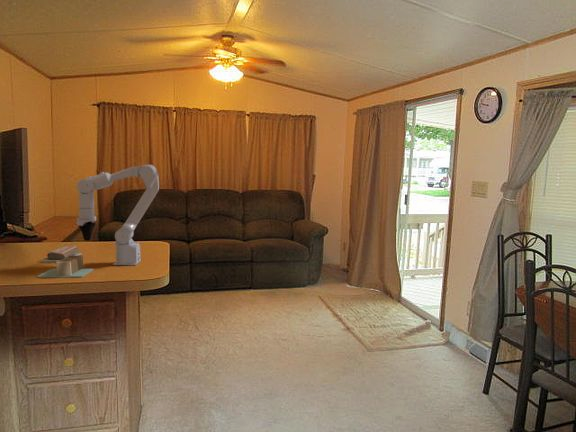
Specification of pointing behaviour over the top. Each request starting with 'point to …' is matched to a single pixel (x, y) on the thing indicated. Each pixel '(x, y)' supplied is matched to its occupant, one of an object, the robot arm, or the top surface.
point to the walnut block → (69, 265)
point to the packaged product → (61, 254)
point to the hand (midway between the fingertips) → (87, 240)
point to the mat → (53, 273)
